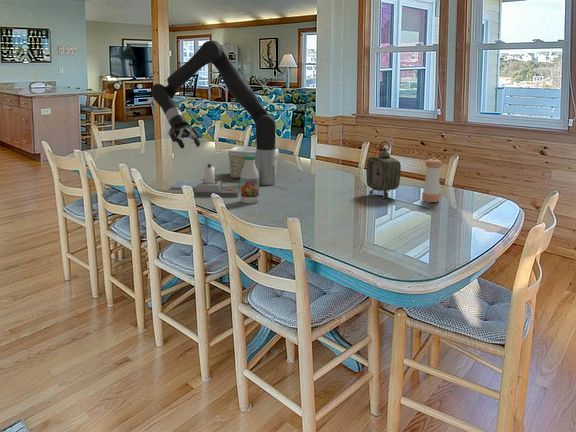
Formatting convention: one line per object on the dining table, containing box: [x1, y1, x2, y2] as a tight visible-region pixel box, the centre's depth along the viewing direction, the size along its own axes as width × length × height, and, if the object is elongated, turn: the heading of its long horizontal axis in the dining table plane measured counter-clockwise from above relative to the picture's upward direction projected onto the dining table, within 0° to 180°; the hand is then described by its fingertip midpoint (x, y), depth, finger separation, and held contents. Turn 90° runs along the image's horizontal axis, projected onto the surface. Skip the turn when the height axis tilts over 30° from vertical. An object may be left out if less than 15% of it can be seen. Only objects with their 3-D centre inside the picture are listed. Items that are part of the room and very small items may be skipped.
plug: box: [203, 163, 216, 184], centre depth 245 cm, size 5×5×12 cm
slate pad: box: [170, 180, 200, 191], centre depth 260 cm, size 14×14×1 cm
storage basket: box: [227, 145, 280, 179], centre depth 285 cm, size 24×16×15 cm
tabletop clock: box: [366, 140, 402, 200], centre depth 244 cm, size 14×9×25 cm, turn 24°
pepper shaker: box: [421, 157, 443, 203], centre depth 238 cm, size 7×7×19 cm
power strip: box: [192, 179, 241, 198], centre depth 246 cm, size 20×12×5 cm, turn 90°
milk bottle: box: [240, 155, 260, 205], centre depth 231 cm, size 8×8×20 cm
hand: (191, 146), depth 251 cm, fingers open, 8 cm apart
